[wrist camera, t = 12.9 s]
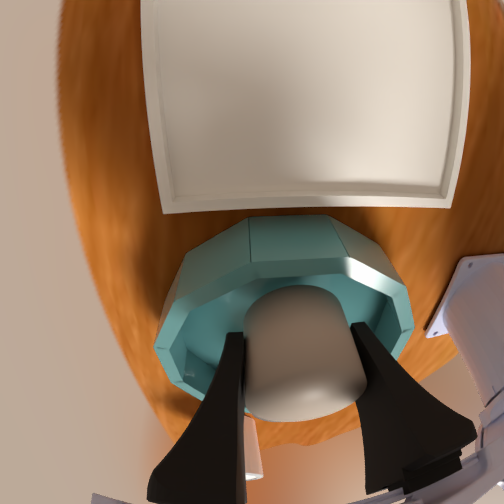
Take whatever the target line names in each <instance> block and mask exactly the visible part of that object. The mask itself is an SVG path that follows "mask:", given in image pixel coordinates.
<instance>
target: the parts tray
mask: <svg viewBox="0 0 504 504" xmlns="http://www.w3.org/2000/svg"><path fill="white" fill-rule="evenodd" d="M141 41H142V59H143V73H144V85H145V96H146V106H147V115H148V123H149V131H150V138H151V146H152V152H153V159H154V166H155V172H156V178H157V184H158V189H159V195H160V200H161V206H162V211H163V214H172V213H185V212H200V211H217V210H235V209H257V208H285V207H335V206H380V207H428V208H451V204H452V200H453V196H454V192H455V188H456V184H457V179H458V175H459V170H460V165H461V160H462V154H463V148H464V142H465V135H466V127H467V119H468V109H469V96H470V73H471V55H470V32H469V20H468V11H467V3H466V0H141Z"/></svg>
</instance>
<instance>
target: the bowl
mask: <svg viewBox="0 0 504 504" xmlns="http://www.w3.org/2000/svg"><path fill="white" fill-rule="evenodd" d="M291 285H313V286H318V287H321V288H324V289H326V290H328V291H330V292H331V293H333V294H334V295H335V296H336V297H337V298H338V300H339V301H340V303H341V306H342V309H343V311H344V314H345V317H346V320H347V322H348V325H349V328H350V326H351V323H355V322H363V321H364V322H365V323H366V324H367V325H368V326H369V328H370V329H371V330H372V332H373V333H374V334H375V335H376V337H377V338H378V339H379V340H380V342H381V343H382V344H383V345H384V347H385V348H386V349H387V350H388V351H389V353H390V354H391V355H392V356H393V357H394V359H395V360H397V359H398V357H399V355H400V353H401V352H402V350H403V348H404V347H405V345H406V343H407V341H408V339H409V338H410V336H411V334H412V332H413V330H414V328H415V326H414V320H413V315H412V311H411V306H410V301H409V297H408V293H407V289H406V286H405V284H404V283H403V281H402V279H401V278H400V276H399V275H398V273H397V272H396V270H395V268H394V267H393V265H392V264H391V262H390V261H389V259H388V258H387V256H386V255H385V253H384V252H383V250H382V249H381V247H380V246H379V244H377V243H375V242H374V241H372V240H370V239H369V238H367V237H365V236H364V235H362V234H360V233H359V232H357V231H355V230H353V229H352V228H350V227H348V226H347V225H345V224H343V223H341V222H339V221H338V220H336V219H334V218H332V217H331V216H329V215H326V214H322V215H285V216H259V217H249V218H248V217H247V218H246V219H244V220H242V221H240V222H239V223H237V224H235V225H233V226H232V227H230V228H228V229H227V230H225V231H223V232H221V233H220V234H218V235H216V236H214V237H213V238H211V239H209V240H208V241H206V242H204V243H203V244H201V245H199V246H197V247H196V248H194V249H192V250H191V251H189V252H187V253H186V255H185V257H184V259H183V261H182V263H181V265H180V268H179V270H178V272H177V274H176V276H175V279H174V281H173V283H172V285H171V288H170V290H169V292H168V294H167V297H166V299H165V302H164V306H163V310H162V314H161V318H160V321H159V325H158V329H157V333H156V338H155V342H154V346H153V347H154V350H155V352H156V354H157V356H158V358H159V360H160V362H161V364H162V366H163V368H164V370H165V372H166V374H167V376H168V378H169V380H170V381H171V383H172V384H174V385H176V386H177V387H179V388H181V389H182V390H184V391H186V392H187V393H189V394H191V395H192V396H194V397H196V398H197V399H199V400H201V401H203V399H204V397H205V395H206V393H207V390H208V388H209V386H210V384H211V382H212V379H213V377H214V374H215V372H216V369H217V366H218V364H219V361H220V358H221V354H222V351H223V347H224V343H225V339H226V334H227V333H228V332H243V334H244V328H243V321H244V317H245V314H246V312H247V310H248V309H249V307H250V306H251V305H252V304H253V303H254V302H255V301H256V300H257V299H259V298H260V297H261V296H263V295H265V294H267V293H268V292H271V291H273V290H275V289H279V288H282V287H286V286H291ZM245 412H247V413H250V412H249V411H248V409H247V408H246V405H245Z"/></svg>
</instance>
